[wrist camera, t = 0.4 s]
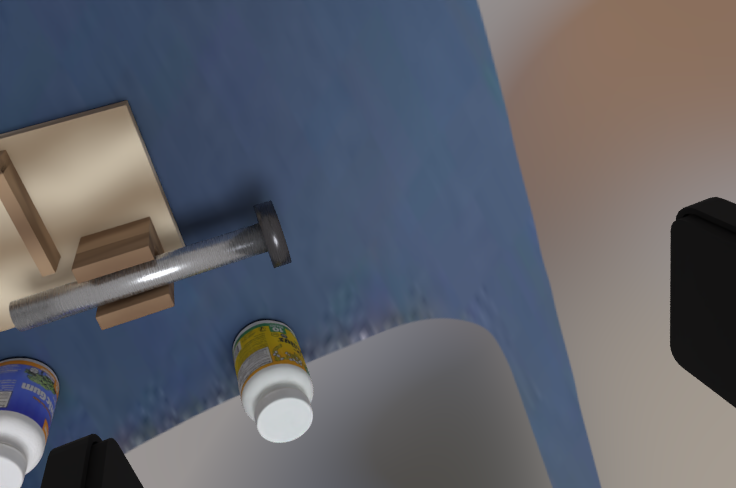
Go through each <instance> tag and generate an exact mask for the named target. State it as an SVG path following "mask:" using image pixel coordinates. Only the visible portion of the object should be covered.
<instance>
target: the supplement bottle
mask: <svg viewBox="0 0 736 488" xmlns="http://www.w3.org/2000/svg"><path fill="white" fill-rule="evenodd" d="M233 359H234V365H235V370H236V375H237V380H238V386H239V391H240V396H241V401H242V405H243V408H244V410H245V412H246V414H247V415H248V416H249V417H250V418H251V419H252V420H254V421H255V422H256V426H257V429H258V431H259V433H260V435H261V436H262V437H263V438H264V439H266V440H268V441H271V442H276V443H284V442H289V441H292V440H294V439H296V438H298V437H300V436H301V435H302V434H304V433H305V432H306V431H307V430H308V428H309V427H310V425H311V423H312V419H313V412H312V408H311V404H310V403H311V401H312V398H313V384H312V380H311V378H310V375H309V372H308V369H307V367H306V364H305V361H304V358H303V356H302V353H301V350H300V347H299V345H298V342H297V339H296V336H295V334H294V333H293V331H292V330H291V329H290V328H289V327H288V326H287V325H285V324H283V323H281V322H277V321H272V320H262V321H257V322H254V323H252V324H250V325H249V326H247V327H246V328H244V329H243V330H242V331H241V332H240V333H239V334H238V336H237V338H236V339H235V342H234V345H233Z"/></svg>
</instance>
